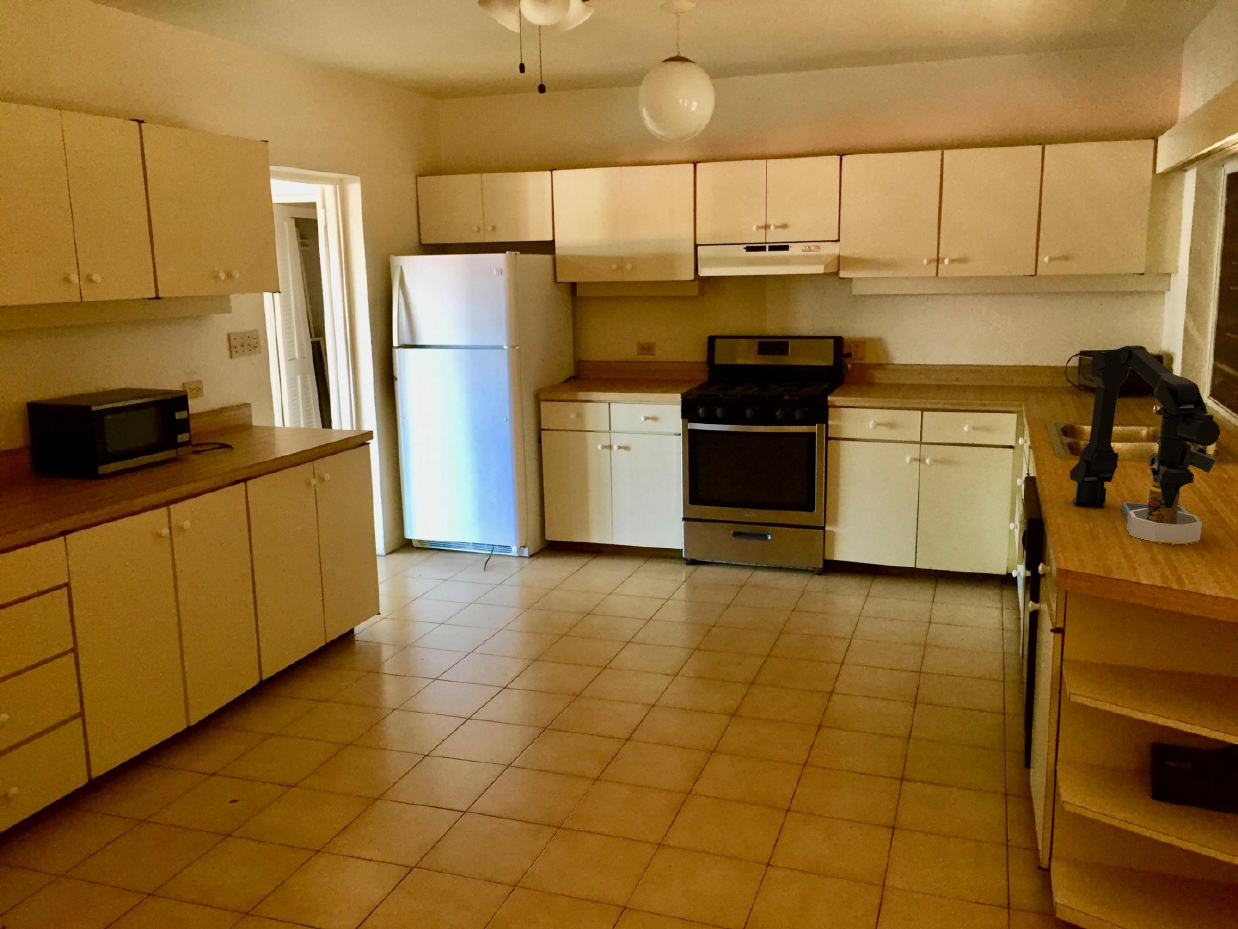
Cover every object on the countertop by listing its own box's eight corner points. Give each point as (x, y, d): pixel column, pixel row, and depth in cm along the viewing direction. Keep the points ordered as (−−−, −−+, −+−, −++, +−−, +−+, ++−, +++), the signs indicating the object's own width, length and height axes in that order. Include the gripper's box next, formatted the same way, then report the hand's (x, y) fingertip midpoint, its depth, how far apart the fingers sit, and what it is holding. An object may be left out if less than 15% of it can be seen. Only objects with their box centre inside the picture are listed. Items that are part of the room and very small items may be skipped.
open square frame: (1128, 523, 234) (1129, 515, 234) (1120, 509, 247) (1121, 502, 246) (1193, 528, 230) (1194, 520, 230) (1181, 513, 243) (1182, 506, 242)
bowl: (1133, 541, 221) (1135, 522, 220) (1124, 524, 234) (1126, 506, 233) (1203, 546, 216) (1206, 527, 215) (1190, 529, 229) (1192, 511, 228)
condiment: (1139, 527, 225) (1144, 476, 222) (1151, 520, 231) (1157, 470, 228) (1173, 533, 220) (1180, 482, 217) (1185, 526, 226) (1192, 475, 223)
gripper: (1224, 447, 209) (1215, 518, 212) (1205, 431, 226) (1197, 497, 229) (1166, 444, 212) (1157, 513, 216) (1151, 429, 230) (1144, 493, 233)
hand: (1165, 504), depth 223 cm, fingers closed on condiment, 6 cm apart
